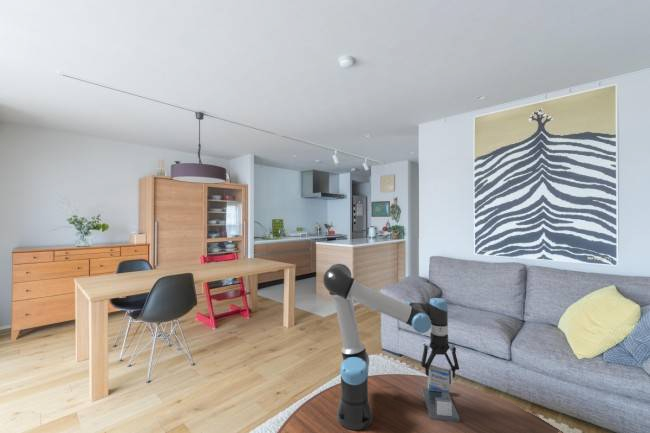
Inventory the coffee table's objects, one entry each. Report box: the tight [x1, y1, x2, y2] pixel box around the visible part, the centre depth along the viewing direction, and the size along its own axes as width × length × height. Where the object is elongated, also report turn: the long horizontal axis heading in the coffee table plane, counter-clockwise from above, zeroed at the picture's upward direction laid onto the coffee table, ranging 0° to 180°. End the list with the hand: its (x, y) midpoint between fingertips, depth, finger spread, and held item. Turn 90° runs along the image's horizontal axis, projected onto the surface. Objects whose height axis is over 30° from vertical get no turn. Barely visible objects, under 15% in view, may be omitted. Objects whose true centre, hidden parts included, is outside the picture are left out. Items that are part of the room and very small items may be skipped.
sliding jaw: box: [427, 381, 442, 392], centre depth 143 cm, size 6×3×8 cm, turn 81°
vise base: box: [421, 387, 461, 423], centre depth 133 cm, size 12×21×8 cm, turn 170°
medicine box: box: [430, 365, 451, 394], centre depth 131 cm, size 8×4×9 cm, turn 62°
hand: (440, 383), depth 131 cm, fingers closed on medicine box, 9 cm apart
